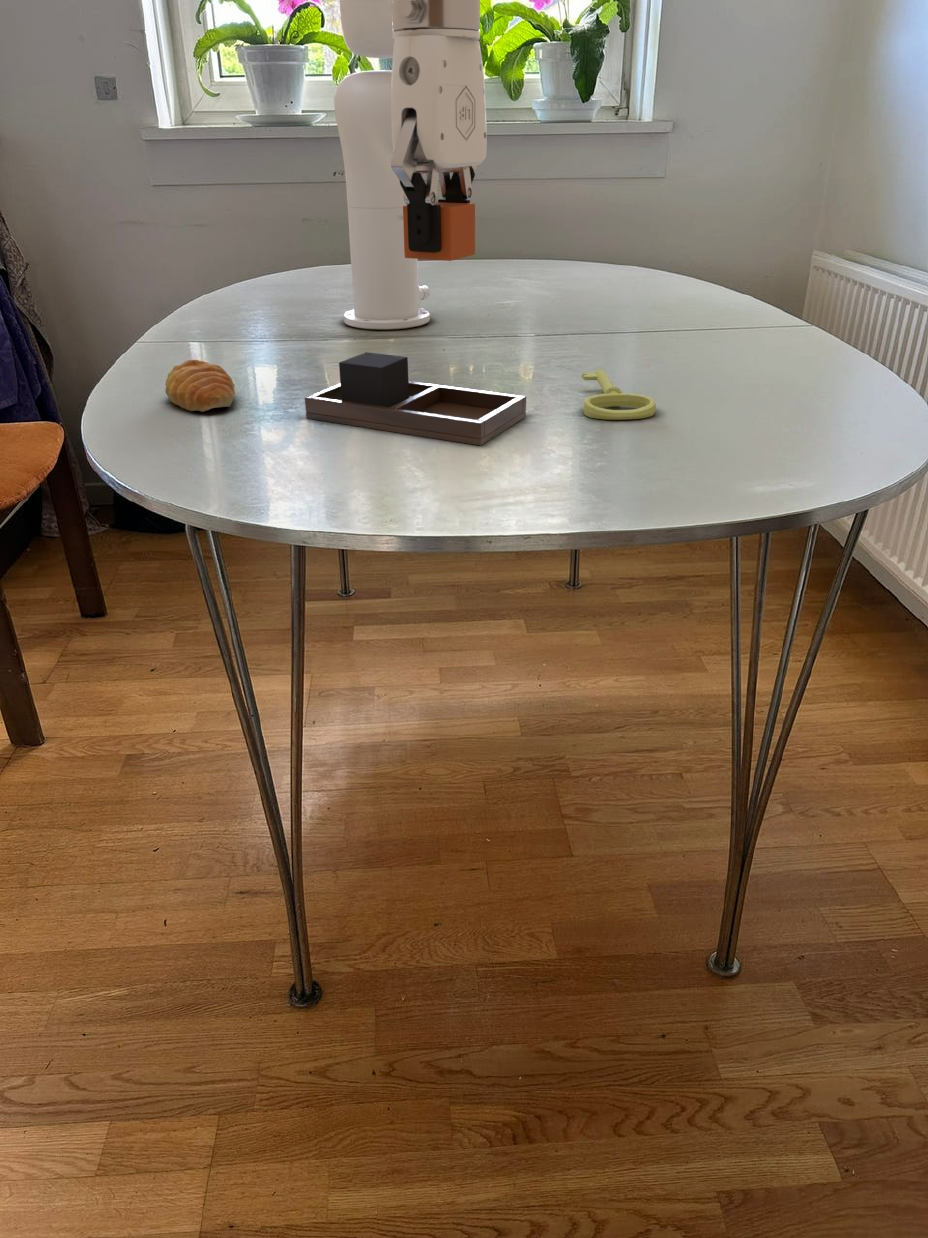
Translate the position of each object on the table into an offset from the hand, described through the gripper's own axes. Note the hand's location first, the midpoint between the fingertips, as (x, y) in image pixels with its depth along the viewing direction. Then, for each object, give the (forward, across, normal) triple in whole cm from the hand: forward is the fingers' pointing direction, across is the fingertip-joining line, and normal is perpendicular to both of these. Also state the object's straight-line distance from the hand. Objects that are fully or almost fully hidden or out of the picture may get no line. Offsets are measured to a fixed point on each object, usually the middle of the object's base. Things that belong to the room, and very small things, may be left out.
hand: (439, 245), depth 87 cm
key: (+16, +9, -15) cm, 24 cm away
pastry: (+16, -9, +24) cm, 30 cm away
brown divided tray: (+16, -4, +1) cm, 16 cm away
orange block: (+1, 0, 0) cm, 1 cm away
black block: (+15, -4, +6) cm, 16 cm away
